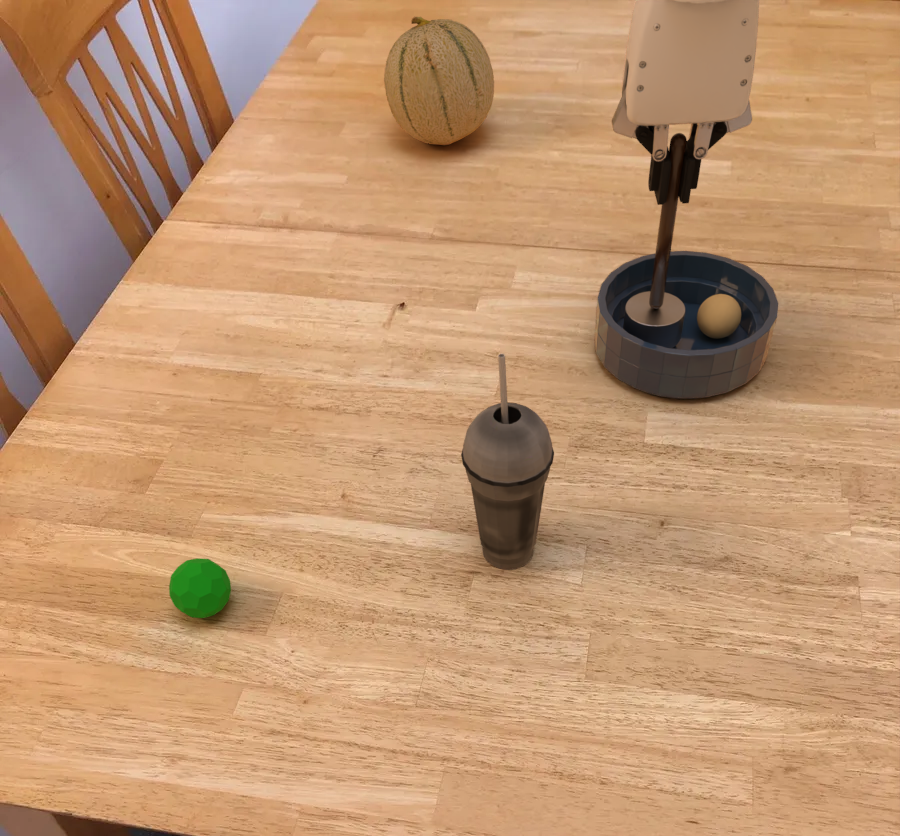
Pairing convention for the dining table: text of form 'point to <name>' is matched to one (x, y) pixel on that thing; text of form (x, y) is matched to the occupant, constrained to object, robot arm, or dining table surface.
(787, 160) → the dining table surface
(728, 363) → the bowl
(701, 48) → the robot arm
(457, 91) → the cantaloupe
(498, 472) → the beverage cup
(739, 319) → the yellow ball
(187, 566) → the polyhedron
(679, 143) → the weighted rod stand
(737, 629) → the dining table surface
